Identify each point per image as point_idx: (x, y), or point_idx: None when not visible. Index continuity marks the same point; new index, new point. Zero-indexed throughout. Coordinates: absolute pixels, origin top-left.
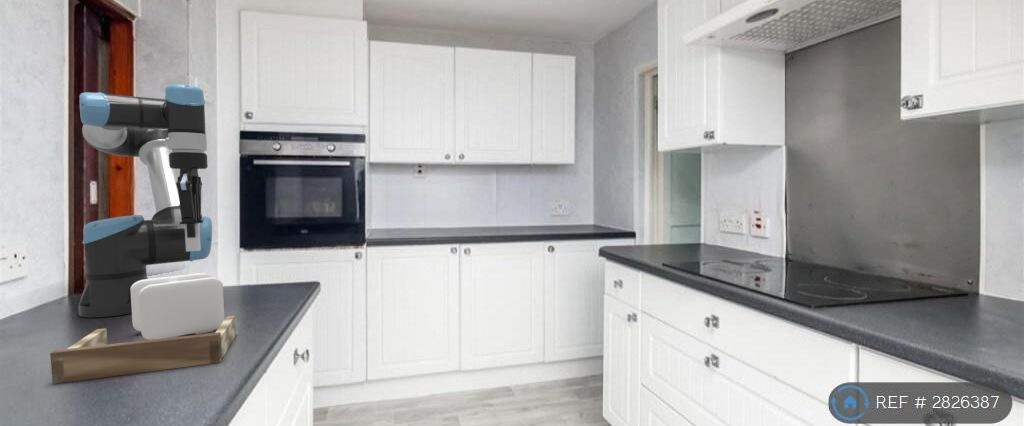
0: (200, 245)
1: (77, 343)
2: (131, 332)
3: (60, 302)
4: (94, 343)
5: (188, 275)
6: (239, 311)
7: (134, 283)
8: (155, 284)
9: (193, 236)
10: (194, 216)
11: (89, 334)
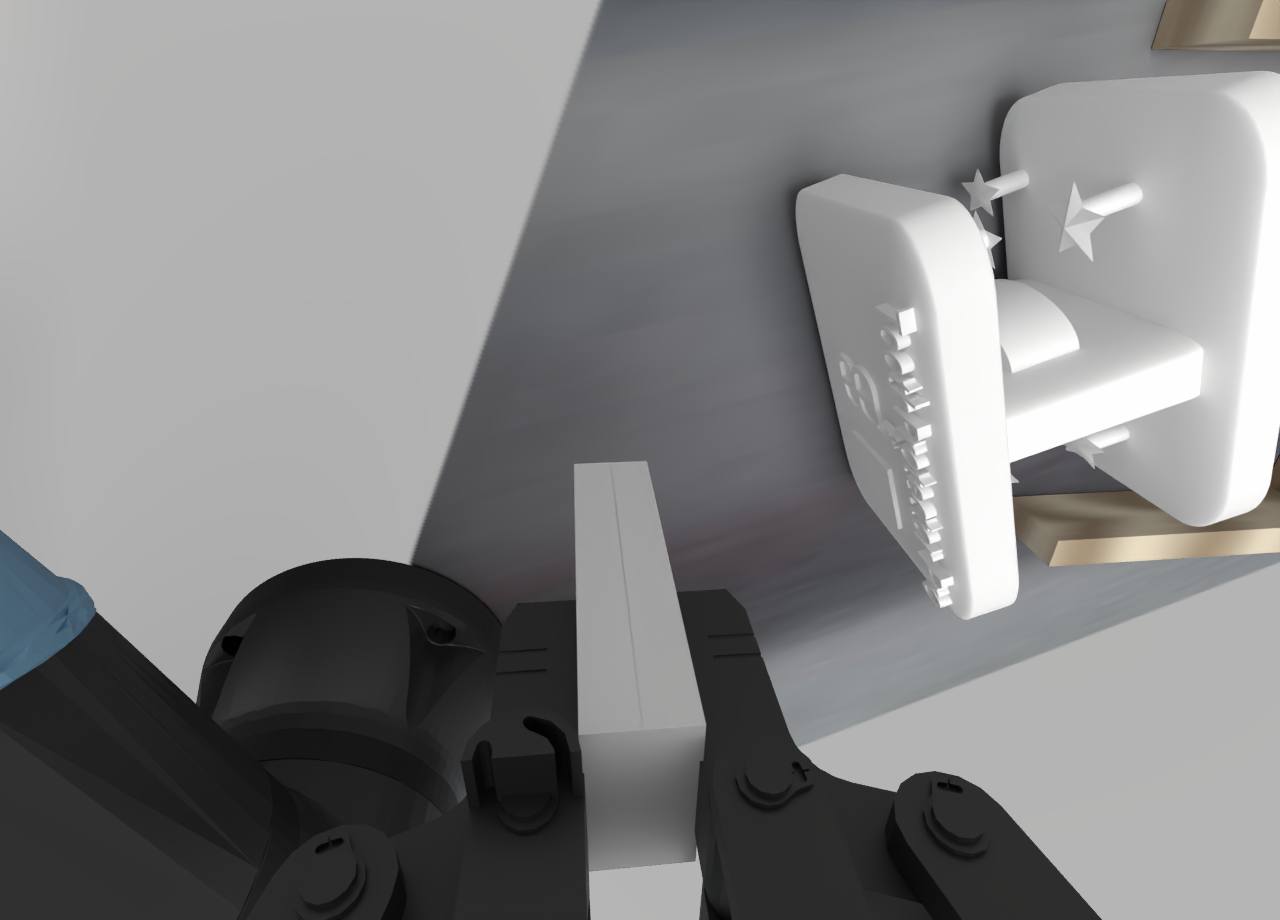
0: (574, 492)
1: (1216, 549)
2: (814, 497)
3: None
4: (1142, 520)
5: (1001, 379)
6: (628, 60)
7: (981, 614)
8: (1249, 479)
9: (733, 606)
10: (982, 883)
11: (1112, 560)
